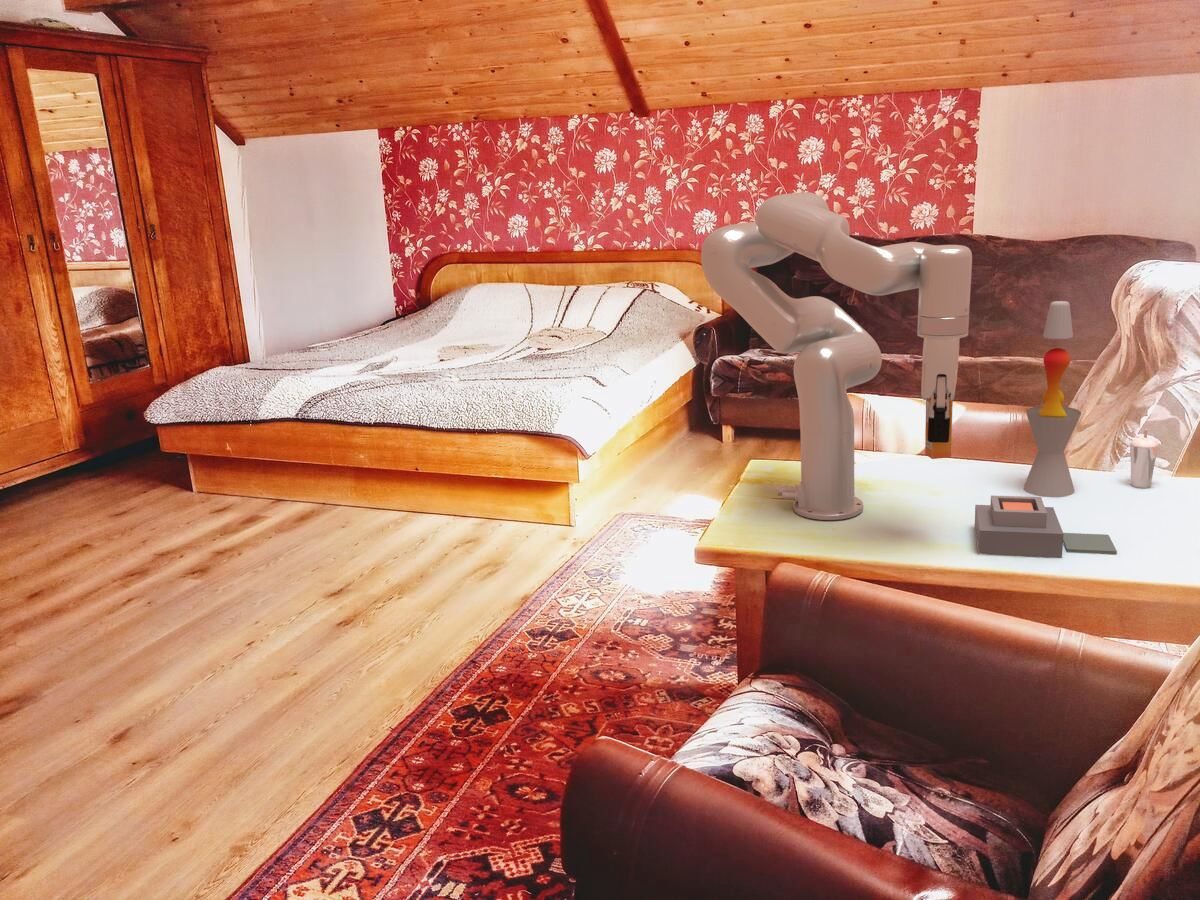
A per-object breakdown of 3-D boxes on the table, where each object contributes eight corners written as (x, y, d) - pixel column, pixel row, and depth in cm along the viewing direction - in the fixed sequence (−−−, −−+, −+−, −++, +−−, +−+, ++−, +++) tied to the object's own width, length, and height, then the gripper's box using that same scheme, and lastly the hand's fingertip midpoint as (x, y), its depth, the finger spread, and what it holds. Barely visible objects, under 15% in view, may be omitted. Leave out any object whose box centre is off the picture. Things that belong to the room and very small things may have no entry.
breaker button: (1003, 528, 150) (1004, 511, 149) (1001, 519, 154) (1001, 501, 153) (1033, 529, 148) (1034, 512, 147) (1030, 520, 152) (1031, 502, 151)
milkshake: (1155, 481, 173) (1160, 430, 170) (1154, 490, 169) (1159, 437, 166) (1127, 479, 175) (1132, 428, 173) (1125, 487, 171) (1130, 435, 168)
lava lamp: (1079, 498, 168) (1093, 304, 158) (1024, 496, 171) (1035, 306, 161) (1071, 482, 176) (1084, 297, 167) (1019, 481, 179) (1029, 299, 169)
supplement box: (943, 452, 154) (946, 393, 151) (951, 458, 150) (954, 398, 147) (923, 453, 154) (925, 394, 151) (931, 460, 150) (933, 400, 147)
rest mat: (1066, 551, 146) (1066, 549, 146) (1060, 535, 153) (1060, 532, 152) (1116, 554, 144) (1116, 551, 144) (1108, 537, 150) (1108, 534, 150)
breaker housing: (978, 553, 148) (980, 515, 146) (974, 526, 159) (975, 490, 157) (1061, 557, 144) (1064, 518, 143) (1051, 529, 155) (1054, 493, 153)
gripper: (917, 317, 154) (913, 423, 160) (917, 335, 139) (913, 452, 145) (965, 316, 152) (960, 424, 157) (971, 335, 137) (964, 454, 142)
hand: (937, 436), depth 151 cm, fingers closed on supplement box, 3 cm apart
